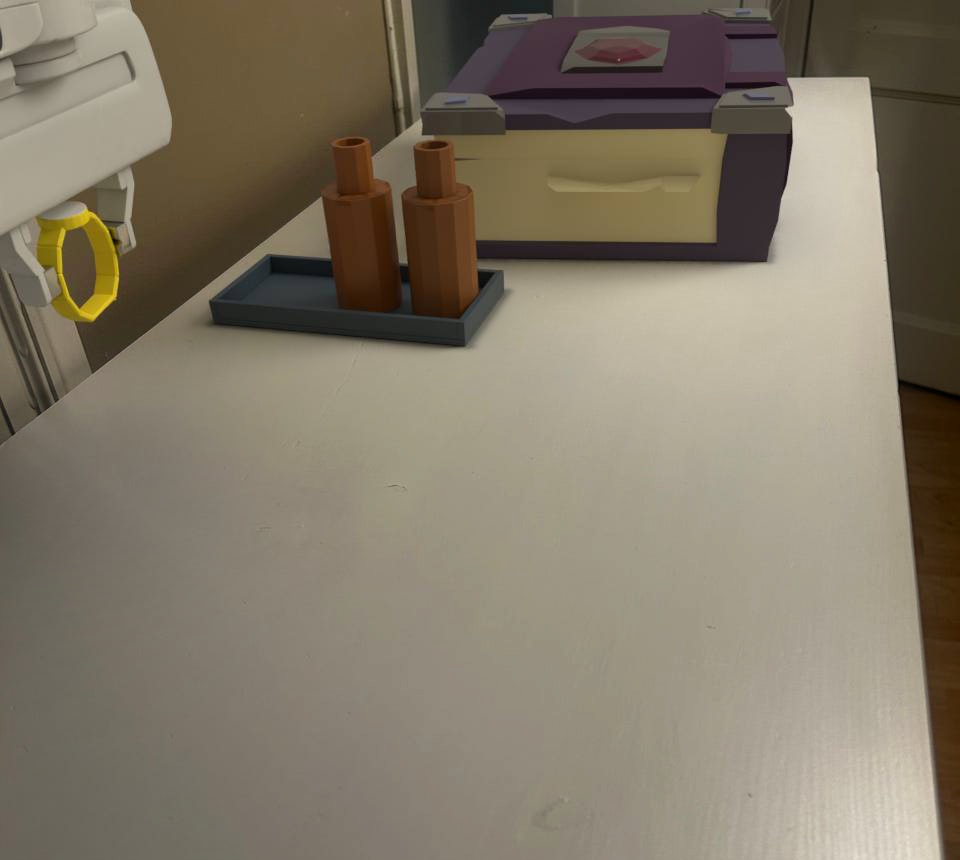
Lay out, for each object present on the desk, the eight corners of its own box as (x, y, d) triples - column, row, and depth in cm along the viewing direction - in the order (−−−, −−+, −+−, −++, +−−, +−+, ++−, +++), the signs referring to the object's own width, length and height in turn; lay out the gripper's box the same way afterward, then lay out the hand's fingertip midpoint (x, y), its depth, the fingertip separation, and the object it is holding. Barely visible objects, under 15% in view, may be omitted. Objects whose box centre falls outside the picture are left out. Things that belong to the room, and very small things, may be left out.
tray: (213, 323, 85) (208, 300, 84) (271, 274, 93) (267, 253, 92) (465, 346, 79) (464, 322, 78) (504, 292, 87) (503, 269, 86)
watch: (98, 291, 60) (67, 189, 56) (139, 293, 60) (111, 191, 56) (46, 332, 56) (9, 226, 52) (89, 335, 56) (56, 228, 52)
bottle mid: (329, 319, 85) (302, 151, 76) (354, 293, 89) (332, 131, 80) (389, 324, 83) (369, 153, 74) (412, 298, 87) (395, 133, 78)
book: (765, 129, 121) (782, -5, 112) (788, 266, 88) (816, 92, 79) (500, 131, 127) (496, 3, 117) (429, 261, 94) (415, 97, 84)
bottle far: (404, 325, 83) (386, 154, 74) (426, 299, 87) (412, 133, 78) (466, 331, 81) (456, 157, 73) (486, 304, 85) (478, 135, 76)
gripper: (68, -41, 55) (134, 212, 65) (-224, 34, 41) (-86, 345, 50) (165, -41, 54) (218, 218, 63) (-103, 37, 39) (17, 358, 49)
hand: (82, 276), depth 57 cm, fingers closed on watch, 6 cm apart
